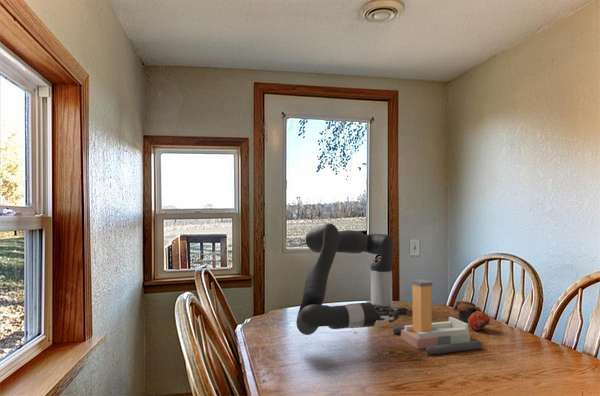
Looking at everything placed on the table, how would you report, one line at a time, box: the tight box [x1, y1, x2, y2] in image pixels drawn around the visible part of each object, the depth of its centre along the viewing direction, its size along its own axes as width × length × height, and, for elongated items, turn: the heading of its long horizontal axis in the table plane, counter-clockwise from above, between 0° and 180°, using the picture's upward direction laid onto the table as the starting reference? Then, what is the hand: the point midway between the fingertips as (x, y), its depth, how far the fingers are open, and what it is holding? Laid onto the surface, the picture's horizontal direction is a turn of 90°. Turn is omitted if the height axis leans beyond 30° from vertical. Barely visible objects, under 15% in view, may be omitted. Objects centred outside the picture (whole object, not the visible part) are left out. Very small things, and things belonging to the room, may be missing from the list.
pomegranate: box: [467, 310, 491, 334], centre depth 141 cm, size 7×7×10 cm
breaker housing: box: [400, 316, 471, 350], centre depth 130 cm, size 20×10×6 cm, turn 106°
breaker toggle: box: [411, 278, 433, 333], centre depth 129 cm, size 4×5×17 cm
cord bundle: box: [392, 325, 405, 335], centre depth 140 cm, size 20×2×2 cm, turn 106°
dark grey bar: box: [425, 340, 483, 356], centre depth 121 cm, size 20×2×2 cm, turn 106°
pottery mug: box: [453, 300, 482, 323], centre depth 154 cm, size 12×10×8 cm
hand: (405, 310), depth 127 cm, fingers closed
